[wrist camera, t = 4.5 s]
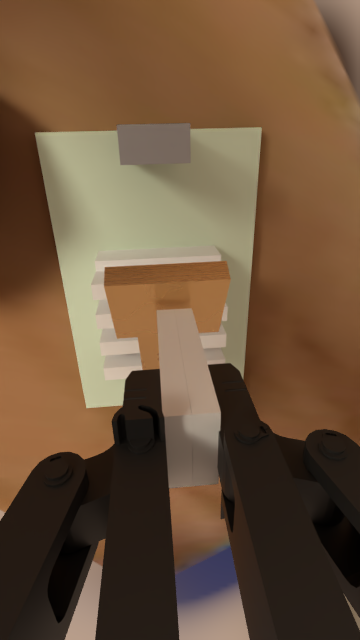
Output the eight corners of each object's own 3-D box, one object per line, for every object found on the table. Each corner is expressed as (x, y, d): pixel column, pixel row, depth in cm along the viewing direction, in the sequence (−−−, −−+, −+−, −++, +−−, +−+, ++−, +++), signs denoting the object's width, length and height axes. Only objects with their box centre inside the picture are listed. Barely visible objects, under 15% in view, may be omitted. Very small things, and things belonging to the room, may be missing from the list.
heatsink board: (87, 401, 38) (72, 470, 30) (38, 133, 26) (-9, 127, 18) (239, 389, 39) (264, 452, 31) (258, 127, 27) (305, 120, 19)
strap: (195, 416, 32) (196, 429, 31) (140, 421, 31) (140, 434, 30) (226, 259, 14) (231, 281, 14) (104, 265, 14) (103, 288, 13)
